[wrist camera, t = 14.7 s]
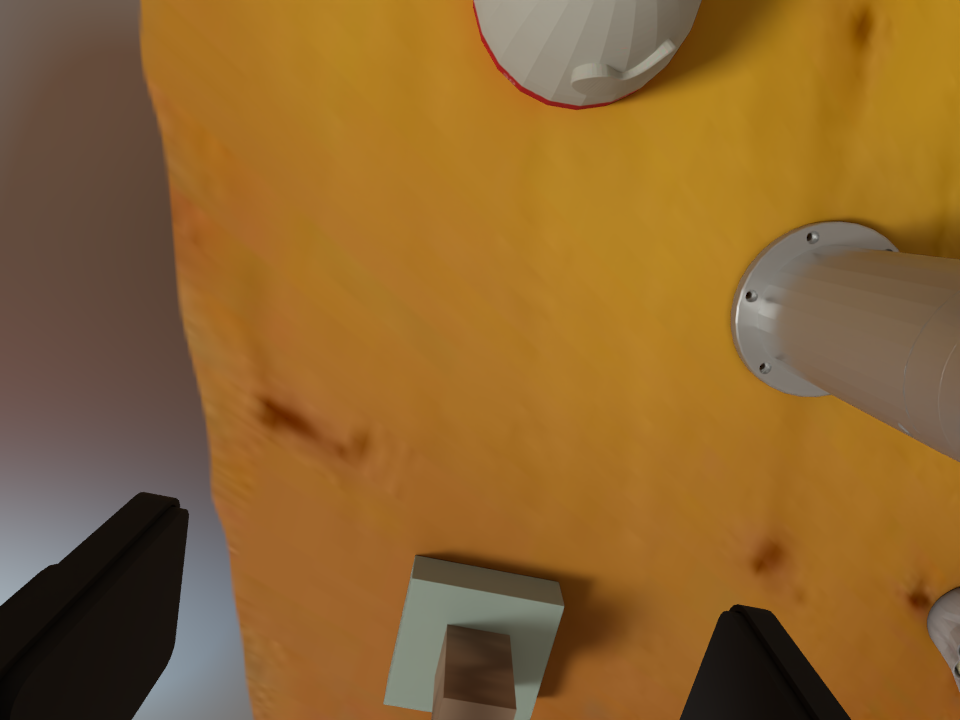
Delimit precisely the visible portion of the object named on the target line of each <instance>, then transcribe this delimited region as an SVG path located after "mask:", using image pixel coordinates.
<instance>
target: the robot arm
mask: <svg viewBox="0 0 960 720" xmlns="http://www.w3.org/2000/svg"><path fill="white" fill-rule="evenodd" d="M807 235H809V238H808V239H807ZM747 292H749V296H748V297H746V294H747ZM731 331H732V336H733V341H734V345H735V347H736V349H737V352H738V354H739V356H740V358H741V360H742V361H743V363H744V364H745V365H746V367H747V368H748V369H749V371H751V372H752V373H753V374H754V375H755V376H756V377H757V378H758V379H760V380H761V381H763V382H764V383H766V384H767V385H769V386H771V387H772V388H775V389H777V390H779V391H782V392H784V393H787V394H791V395H796V396H801V397H819V396H826V395H833V396H835V397H837V398H839V399H841V400H843V401H845V402H846V403H848V404H850V405H852V406H854V407H856V408H858V409H860V410H861V411H863V412H865V413H867V414H869V415H871V416H873V417H875V418H876V419H878V420H880V421H882V422H884V423H886V424H888V425H890V426H891V427H893V428H895V429H897V430H899V431H901V432H903V433H905V434H906V435H908V436H910V437H912V438H914V439H916V440H918V441H920V442H921V443H923V444H925V445H927V446H929V447H931V448H933V449H935V450H936V451H938V452H940V453H942V454H944V455H947V456H948V457H950V458H952V459H954V460H956V461H958V462H960V259H952V258H944V257H935V256H927V255H918V254H910V253H901V252H899V250H898V249H897V248H896V247H895V246H894V245H893V244H892V243H891V242H890V241H889V240H888V239H887V238H886V237H885V236H883V235H881V234H880V233H878V232H877V231H875V230H873V229H871V228H868V227H865V226H862V225H860V224H855V223H847V222H830V221H825V222H819V223H813V224H808V225H805V226H802V227H799V228H796V229H794V230H791V231H789V232H788V233H786V234H784V235H782V236H781V237H779V238H777V239H775V240H774V241H773V242H772V243H771V244H769V245H768V246H767V247H766V248H764V249H763V250H762V251H761V252H760V253H759V254H758V256H757V257H756V258H755V259H754V260H753V261H752V262H751V264H750V265H749V266H748V268H747V270H746V271H745V273H744V275H743V276H742V278H741V280H740V282H739V285H738V287H737V290H736V292H735V295H734V299H733V305H732V310H731ZM761 364H762V367H760V366H761ZM188 519H189V513H188V510H186V509H182V508H180V504H179V500H178V499H176V498H173V497H167V496H162V495H157V494H151V493H146V492H141V493H139V494H137V495H136V496H135V497H133V498H132V499H131V500H130V501H129V502H128V503H127V504H125V505H124V506H123V507H122V508H121V509H120V510H119V511H118V512H116V513H115V514H114V515H113V516H112V517H111V518H109V519H108V520H107V521H106V522H105V523H104V524H103V525H102V526H100V527H99V528H98V529H97V530H96V531H95V532H94V533H92V534H91V535H90V536H89V537H88V538H87V539H86V540H84V541H83V542H82V543H81V544H80V545H79V546H78V547H76V548H75V549H74V550H73V551H72V552H71V553H70V554H69V555H67V556H66V557H65V558H64V559H63V560H62V561H61V562H59V563H58V564H54V565H50V566H48V567H47V568H45V569H44V570H42V571H41V572H40V573H38V574H37V575H36V576H35V577H34V578H32V579H31V580H30V581H29V582H28V583H27V584H26V585H24V586H23V587H22V588H21V589H20V590H18V591H17V592H16V593H15V594H14V595H13V596H12V597H10V598H9V599H8V600H7V601H6V602H5V603H4V604H2V605H1V606H0V720H132V718H133V717H134V715H135V714H136V712H137V711H138V709H139V708H140V706H141V705H142V703H143V702H144V700H145V698H146V697H147V695H148V694H149V692H150V691H151V689H152V688H153V686H154V685H155V683H156V682H157V680H158V678H159V677H160V675H161V674H162V672H163V671H164V669H165V668H166V666H167V664H168V662H169V660H170V657H171V655H172V652H173V649H174V645H175V637H176V629H177V620H178V611H179V602H180V592H181V584H182V575H183V566H184V556H185V546H186V538H187V529H188ZM680 720H851V719H850V717H849V716H848V715H847V713H846V712H845V711H844V709H843V708H842V706H841V705H840V704H839V702H838V701H837V700H836V698H835V697H834V696H833V694H832V693H831V691H830V690H829V689H828V687H827V686H826V685H825V683H824V682H823V681H822V679H821V678H820V677H819V675H818V674H817V672H816V671H815V670H814V668H813V667H812V666H811V664H810V663H809V662H808V660H807V659H806V658H805V656H804V655H803V653H802V652H801V651H800V649H799V648H798V647H797V645H796V644H795V643H794V641H793V640H792V638H791V637H790V636H789V634H788V633H787V632H786V630H785V629H784V628H783V626H782V625H781V624H780V622H779V621H778V619H777V618H776V617H775V615H774V614H773V613H772V612H771V611H768V610H765V609H760V608H755V607H749V606H744V605H739V604H737V605H734V606H733V607H731V608H730V610H729V611H724V612H723V613H722V614H721V615H720V617H719V619H718V622H717V624H716V627H715V629H714V632H713V635H712V637H711V640H710V642H709V645H708V648H707V650H706V653H705V655H704V658H703V660H702V663H701V666H700V668H699V671H698V673H697V676H696V679H695V681H694V684H693V686H692V689H691V692H690V694H689V697H688V699H687V702H686V705H685V707H684V710H683V712H682V715H681V717H680Z"/></svg>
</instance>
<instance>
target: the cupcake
mask: <svg viewBox="0 0 960 720" xmlns="http://www.w3.org/2000/svg"><path fill="white" fill-rule="evenodd" d="M927 627H928V632H929V635H930V637H931V639H932V640H933V642H934V643H935V645H936V646H937V648H938V649H939V651H940V652H941V654H942V656H943V657H944V659H945V660H946V662H947V663H948V665H949V667H950V668H951V670H952V673H953V675H954V678H955V681H956V683H957V686H958V689H959V691H960V588H957V589H954V590H951V591H950V592H948V593H946V594H945V595H943V596H942V597H941V598H940V599H939V600H937V601H936V602H935V604H934V605H933V607H932V608H931V610H930V612H929V615H928V618H927Z"/></svg>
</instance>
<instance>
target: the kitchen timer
mask: <svg viewBox="0 0 960 720" xmlns="http://www.w3.org/2000/svg"><path fill="white" fill-rule="evenodd" d="M701 1H702V0H473V8H474V12H475V16H476V20H477V24H478V28H479V32H480V36H481V40H482V42H483V44H484V46H485V47H486V49H487V51H488V53H489V54H490V56H491V58H492V60H493V62H494V63H495V65H496V67H497V69H498V70H499V71H500V72H501V73H502V74H503V75H504V76H505V77H506V78H507V79H508V80H509V81H510V82H511V83H512V84H513V85H514V86H515V87H517V88H518V89H519V90H520V91H521V92H523V93H525V94H527V95H529V96H531V97H533V98H535V99H536V100H538V101H540V102H542V103H544V104H546V105H551V106H556V107H562V108H568V109H574V110H579V109H586V108H593V107H601V106H606V105H609V104H611V103H613V102H615V101H617V100H619V99H621V98H624V97H626V96H628V95H630V94H632V93H634V92H636V91H637V90H639V89H640V88H641V87H643V86H644V85H645V84H646V83H647V82H648V81H649V80H651V79H652V78H653V77H654V76H655V75H656V74H658V73H659V72H660V71H661V70H662V69H663V68H664V67H666V66H667V64H668V63H669V62H670V60H671V59H672V57H673V56H674V54H675V53H676V51H677V50H678V49H679V47H680V46H681V44H682V43H683V41H684V40H685V38H686V37H687V35H688V34H689V32H690V30H691V29H692V26H693V23H694V20H695V17H696V15H697V12H698V9H699V6H700V3H701Z"/></svg>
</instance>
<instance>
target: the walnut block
mask: <svg viewBox="0 0 960 720" xmlns="http://www.w3.org/2000/svg"><path fill="white" fill-rule="evenodd" d="M516 710H517V708H516V697H515V686H514V675H513V664H512V653H511V642H510V635H506V634H500V633H494V632H489V631H483V630H477V629H472V628H466V627H460V626H454V625H449V624H447V628H446V632H445V636H444V640H443V644H442V648H441V652H440V657H439V661H438V665H437V669H436V673H435V679H434V693H433V706H432V719H431V720H514V717H515V714H516Z"/></svg>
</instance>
